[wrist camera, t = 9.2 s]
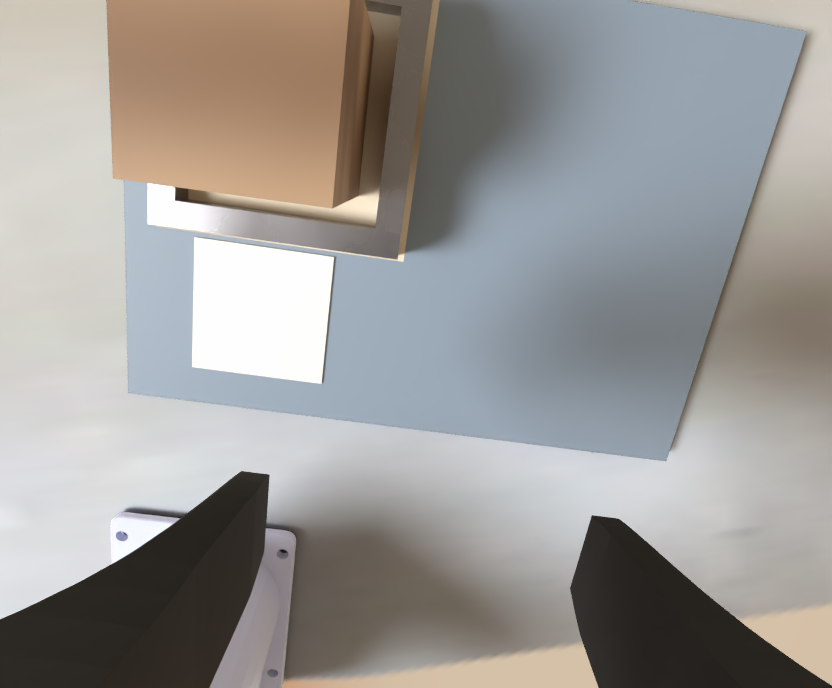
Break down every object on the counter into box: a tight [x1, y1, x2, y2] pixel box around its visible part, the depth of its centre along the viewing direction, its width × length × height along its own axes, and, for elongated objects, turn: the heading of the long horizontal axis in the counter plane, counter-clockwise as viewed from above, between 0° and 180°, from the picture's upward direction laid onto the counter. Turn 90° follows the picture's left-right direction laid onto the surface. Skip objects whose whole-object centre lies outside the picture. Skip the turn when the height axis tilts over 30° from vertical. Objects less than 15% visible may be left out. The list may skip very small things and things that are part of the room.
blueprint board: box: [124, 0, 807, 461], centre depth 18 cm, size 16×22×4 cm
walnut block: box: [106, 0, 374, 208], centre depth 13 cm, size 4×4×6 cm
